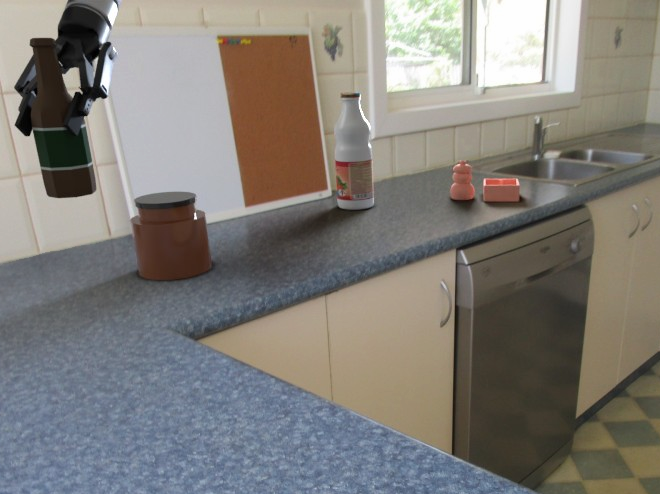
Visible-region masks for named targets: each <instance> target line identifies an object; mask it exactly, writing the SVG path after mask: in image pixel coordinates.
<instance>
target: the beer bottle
mask: <svg viewBox="0 0 660 494" xmlns="http://www.w3.org/2000/svg"><path fill="white" fill-rule="evenodd" d="M55 40H56V39H55V38H53V37H32V38H30V39H29V46H30V47H31V48H32V56H33V55H34V62H35V70H36V77H37V92H38V94H37V96H36V98H35V100H34V102H33V104H32V110H31V123H32V135H33V139H34V145H35V149H36V152H37V157H38V163H39V167H40V172H41V177H42V181H43V186H44V189H45V193H46V196H47V197H49V198H52V199H53V198H54V199H69V198H70V199H72V198H79V197H80V198H81V197H86V196H90V195H93V194H94V193H95V192H97V181H96V174H95V168H94V164H93V163H94V162H93V159H92V158H93V157H92V152H91V146H90V142H89V141H90V140H89V136H88V130H87V124H86V120H85V118H84V119H83V122H82V125H81V128H80V130H79V133H78V136H72V135H71V133H70V132H69V131H68V130H67V129H66V128H65V127H64V126H63V124H64V121H65V118H66V116H67V113H68V110H69V107H70V105H71V102H72V99H73V96H72V95H71V94H70V93H69V91H68V89H67V87H66V84H65V80H64V77H63V74H62V72H61V68H60V64H61V63H60V62H59V60H58V56H57V52H56V48H55V47H56V46H57V44H56V42H55ZM59 63H60V64H59Z"/></svg>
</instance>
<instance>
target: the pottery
mask: <svg viewBox="0 0 660 494" xmlns="http://www.w3.org/2000/svg"><path fill="white" fill-rule="evenodd" d="M452 169H453V172H454V173H453V175H452V180H453V182H454V183H453V184H452V185H451V186H450V190H449V194H450V198H451V200H454V201H455V200H456V201H467V200H473V199H474V197H475V193H476V191H475V186H474V185H473V184H472V183H471V181H473V174H472V173H471V172H472V170H473V168H472V166H471V165H469V164H468V163H467V160H463V159H462V160H461V159H460V160H459V163H458V164H456V165H454V167H453V168H452ZM483 202H520V182H519V179H518V178H483Z"/></svg>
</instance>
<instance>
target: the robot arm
mask: <svg viewBox="0 0 660 494" xmlns="http://www.w3.org/2000/svg"><path fill="white" fill-rule="evenodd" d="M122 2H123V0H67V1H66V4H65V7H64V10H63V12H62V14H61V17H60V19H59V22H58V24H57V37H56V39H55V42H56V44H57V46H56V47H55V48H56V52H57V56H58V60H59V64H60V68H61V72H62V75H66V74H67V73H68V72H69V71H70V70H71V69H74V68H76V69H77V68H78V75H79V84H80V85H79V86H78V89H79V90H80V91H75V92H74V94H73V96H72V98H73V99H72V102H71V105H70V107H69V110H68V113H67V116H66V118H65V121H64V124H63V126H64V127H65V128H66V129H67V130H68V131H69V132H70V133H71V135H72V136H78V133H79V130H80V128H81V125H82V122H83V119H84V120H85V117H88V116H89V115H90V112H91V110H92V108H93V107H92V106H93V104H94V103H95V102H96V101H97V100H98V99H102V100H106V99H107V98H108V97H109V92H110V86H111V81H112V75H113V69H114V65H115V62H116V61H117V59H118V57H119V53H118V51H117V50H116V48H115V46H114V45H113V43H112V42H111V41H109V38H110V36H111V31H112V30H113V27H114V24H115V21H116V18H117V16H118V12H119V10H120V7H121V5H122V4H121V3H122ZM95 60H97V61H96V67H95V64H94V63H95ZM13 89H14V90H15V91H16V92H17V93H18V95H20V96H21V100H20V103H19V106H18V108H17V110H18V114H17V118H16V120H15V122H14V127H15V128H16V129H17V130H18V131H19V132H20V133H21V134H22V135H23V136H24V137H31V134H32V133H33V130H32V123H31V110H32V104H33V102H34V100H35V98H36V96H37V94H38V92H37V77H36V70H35V62H34V55H33V54H32V55H31V56H30V59H29V61H28V63H27V64H26V65H25V68H24V69H23V71H22V73H21V74H20V76H19V77H18V80H17V81H16V83H15V84H14V86H13Z"/></svg>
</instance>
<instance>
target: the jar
mask: <svg viewBox="0 0 660 494" xmlns="http://www.w3.org/2000/svg"><path fill="white" fill-rule="evenodd" d="M197 201H198V199H197V194H196V193H194V192H190V191H163V192H153V193H149V194H148V193H147V194H144V195H141V196H138V197H136V198H134V199H133V204H134V207H135V208H136V211H137V215H134V216H133V217H131V218H130V220H129V223H130V229H131V235H132V240H133V246H134V254H135V258H136V264H137V270H138V275H139V276H140V277H141V278H143V279H146V280H151V281H152V280H153V281H174V280H181V279H187V278H188V279H189V278H192V277H196V276H199V275H202V274H204V273H207V272H208V271H210V269H212V267H213V263H212V255H211V247H210V239H209V231H208V223H207V216H206V212H205V211H203V210H201V209H197V206H196V202H197Z"/></svg>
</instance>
